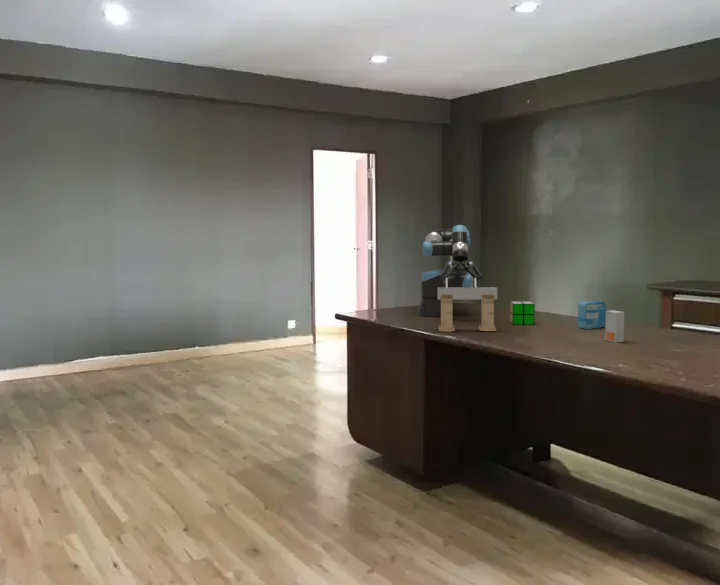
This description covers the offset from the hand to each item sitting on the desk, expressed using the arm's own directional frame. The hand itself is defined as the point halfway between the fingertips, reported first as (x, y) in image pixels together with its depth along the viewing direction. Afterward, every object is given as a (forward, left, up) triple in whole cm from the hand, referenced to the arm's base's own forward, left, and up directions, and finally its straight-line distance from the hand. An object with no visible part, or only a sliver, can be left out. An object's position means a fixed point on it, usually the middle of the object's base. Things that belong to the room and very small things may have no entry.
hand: (461, 291), depth 319 cm
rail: (+21, +2, -1) cm, 21 cm away
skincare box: (+46, +59, -16) cm, 76 cm away
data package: (+12, +58, -16) cm, 61 cm away
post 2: (+21, +11, -15) cm, 28 cm away
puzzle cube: (-1, +29, -16) cm, 33 cm away
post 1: (+21, -7, -15) cm, 27 cm away
